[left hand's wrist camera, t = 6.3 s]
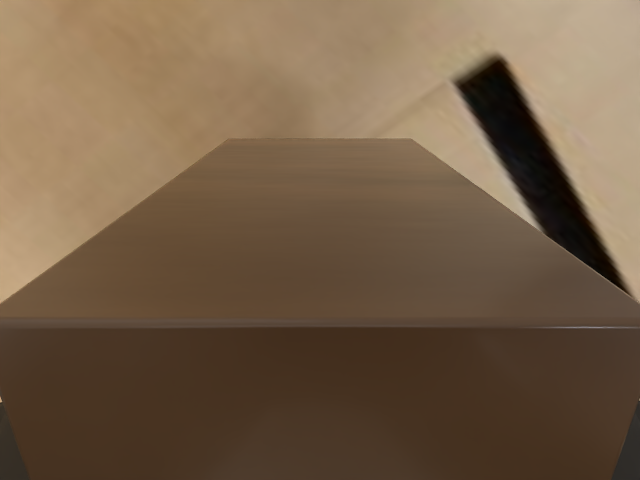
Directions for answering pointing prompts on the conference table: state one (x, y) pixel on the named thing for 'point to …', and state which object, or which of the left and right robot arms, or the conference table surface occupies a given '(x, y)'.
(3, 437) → the left robot arm
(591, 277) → the box
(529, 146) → the conference table surface
